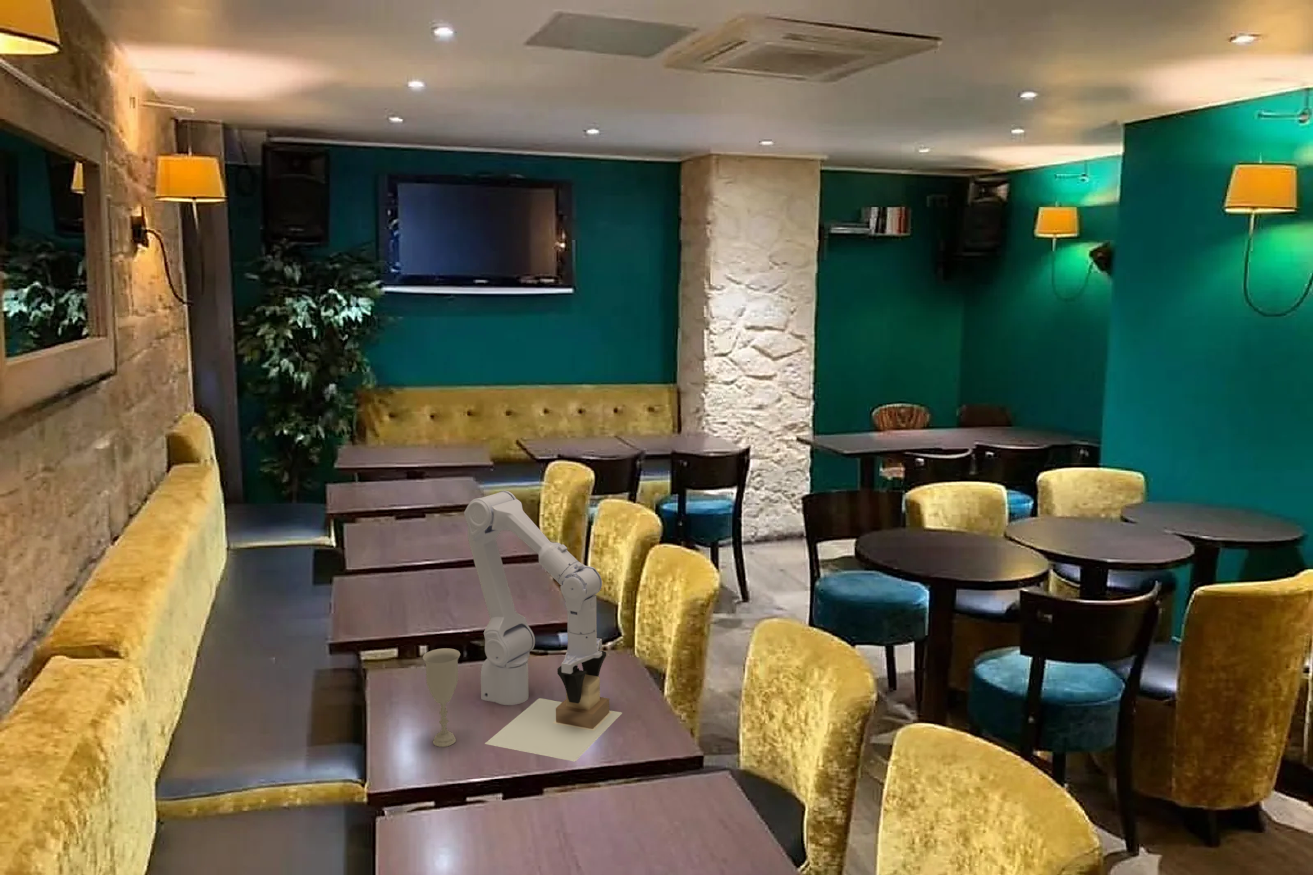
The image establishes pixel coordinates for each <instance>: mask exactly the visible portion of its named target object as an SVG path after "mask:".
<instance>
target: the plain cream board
mask: <svg viewBox="0 0 1313 875" xmlns="http://www.w3.org/2000/svg"><path fill="white" fill-rule="evenodd" d="M562 702H563V701H557V700H552V699H546V698H541V697H539V698H538V699H536V700H535V701H534V702H532V703H531V704H530V705H529V706H527V708H526V709H524V710H523V711H522V712H521V713H519V714H518V715H517V716H516V717H515V718H514V719H512V720H511V721H510V722H509V723H507V724H506V725H505V726H504V727H502V728H501V730H499V731H498V732H497V733H496V734H494V735H493V736H492V737H491V738H489V739H488V741H486V742H485V743H484V745H488V746H493V747H494V746H495V747H499V748H504V749H509V750H515V751H519V752H525V753H528V754H529V753H530V754H533V755H534V754H535V755H540V756H545V757H550V758H554V759H560V760H564V761H571V762H573V763H574V762H576V761H578V759H580V758H581V757H582V755H583V754H584V753H585V752H586V751H587V750H588V749H589V748H590V747H591V746H592V745H593V744H594V743H595V742H596V741H597V739H599V738H600V737H601V736H602V735H603V734H604V733H605V732H606V730H608V728H610V726H611V725H613V723H614V722H615V721H616V720H617V719H618V718H619V717H620V716H621V715H622V714H623V712H621V711H615V710H610V709H609V713H608V714H607V715H606V716H605V717H604V718H603V719H602V720H601V721H600V722H599V723H598V724H597V725H596V726H595V727H594V728H593V729H589V728H584V727H579V726H573V725H568V724H562V723H557V722H556V707H558V706H559V705H560V704H561V703H562Z"/></svg>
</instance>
